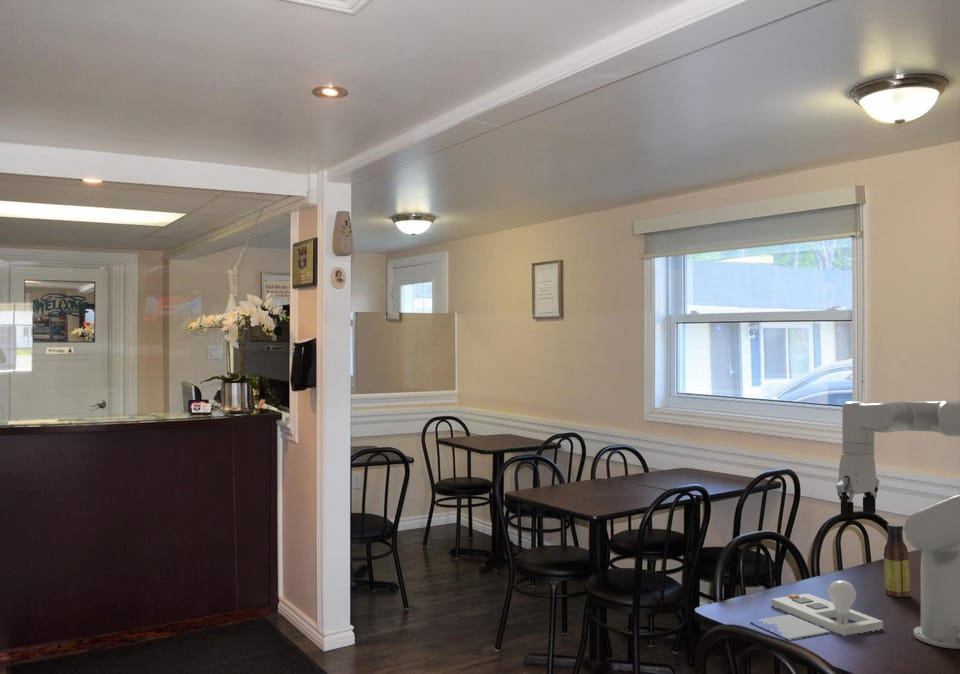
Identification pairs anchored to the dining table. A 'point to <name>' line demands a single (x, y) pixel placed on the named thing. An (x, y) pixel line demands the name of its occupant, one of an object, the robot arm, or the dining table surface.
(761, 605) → the dining table surface
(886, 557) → the sauce bottle
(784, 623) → the mat
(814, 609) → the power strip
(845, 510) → the robot arm
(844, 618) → the lightbulb
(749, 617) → the dining table surface
